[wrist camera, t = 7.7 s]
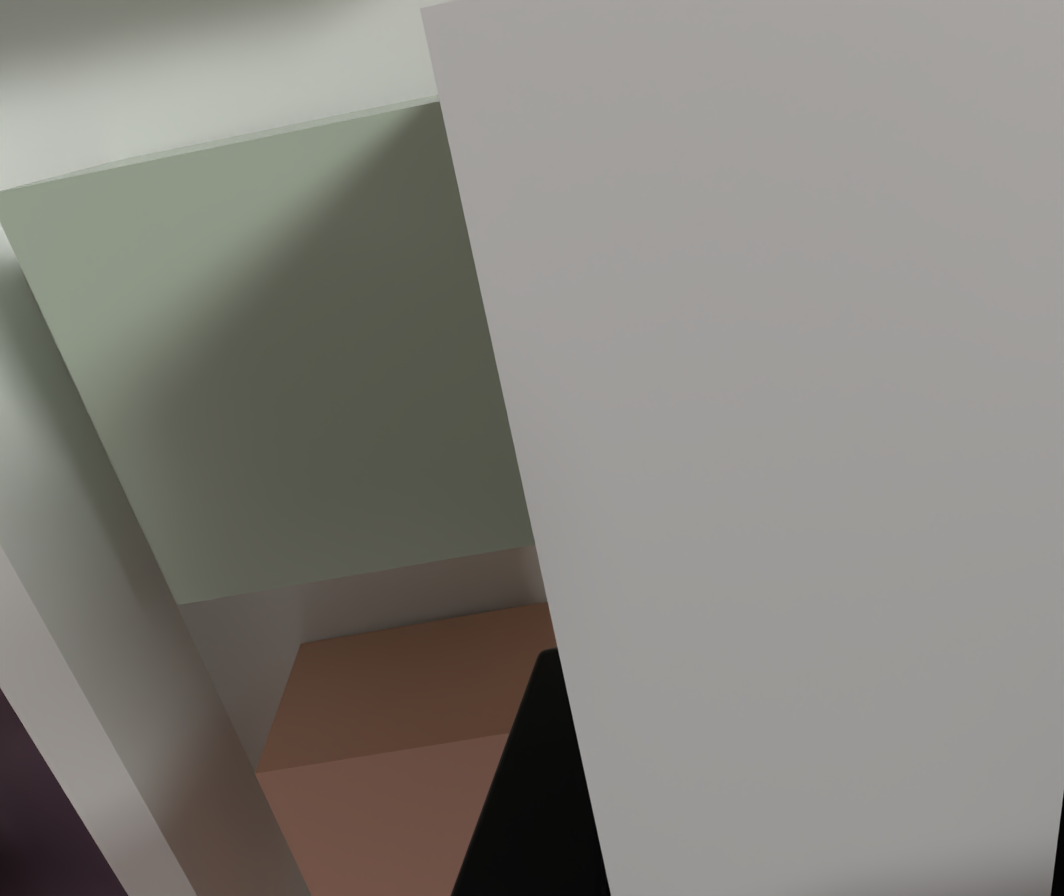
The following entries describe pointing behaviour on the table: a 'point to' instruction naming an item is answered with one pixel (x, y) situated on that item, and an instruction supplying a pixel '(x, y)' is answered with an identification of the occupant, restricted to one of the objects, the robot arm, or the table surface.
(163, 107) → the tray
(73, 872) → the table surface
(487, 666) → the tile
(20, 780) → the table surface
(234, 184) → the tile
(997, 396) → the long grey plank
